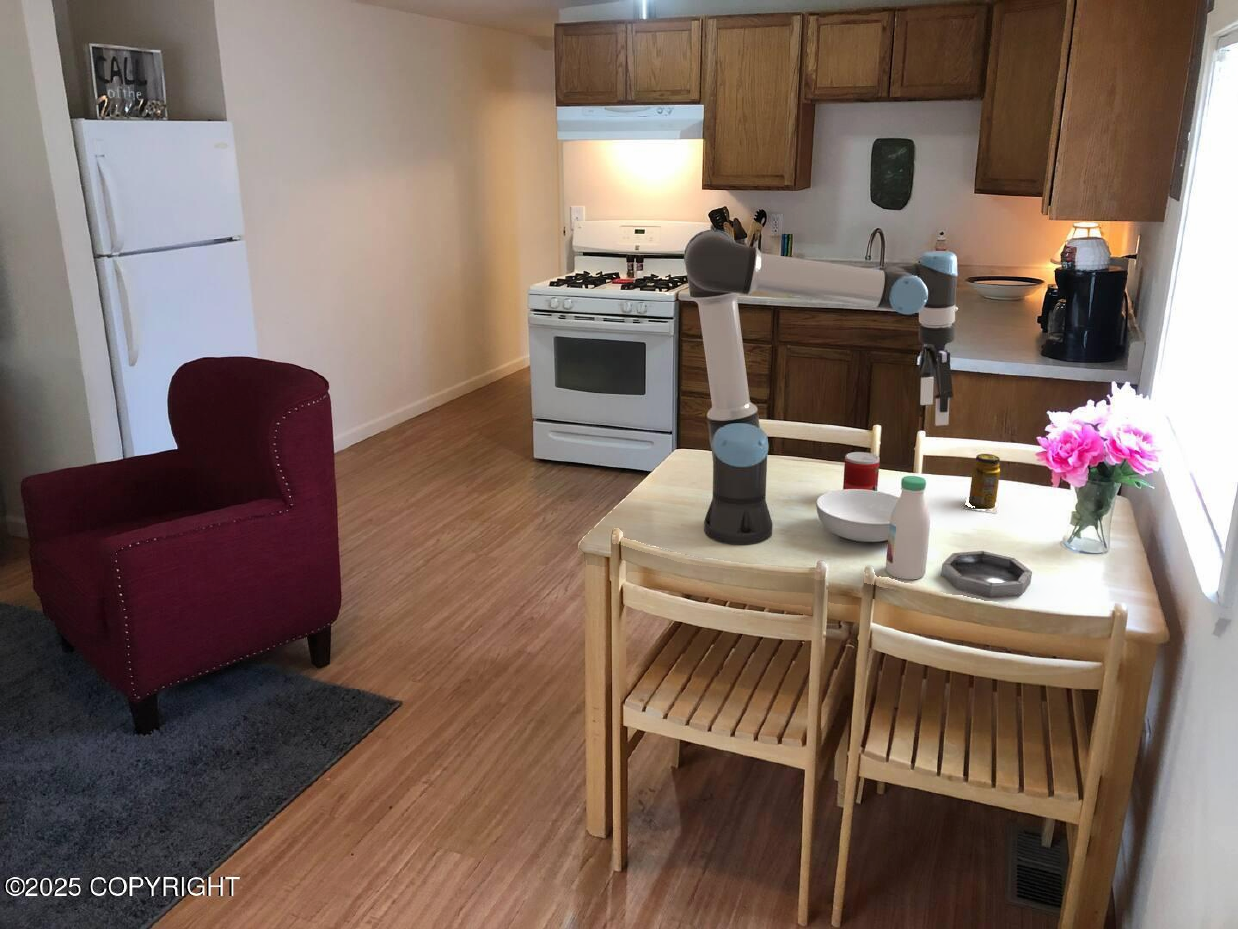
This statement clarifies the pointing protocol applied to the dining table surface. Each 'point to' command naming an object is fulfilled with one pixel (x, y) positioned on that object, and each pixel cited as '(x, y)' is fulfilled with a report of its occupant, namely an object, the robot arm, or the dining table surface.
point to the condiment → (984, 483)
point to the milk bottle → (909, 531)
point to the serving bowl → (857, 513)
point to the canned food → (861, 471)
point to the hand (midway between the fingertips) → (933, 414)
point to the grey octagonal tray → (986, 574)
